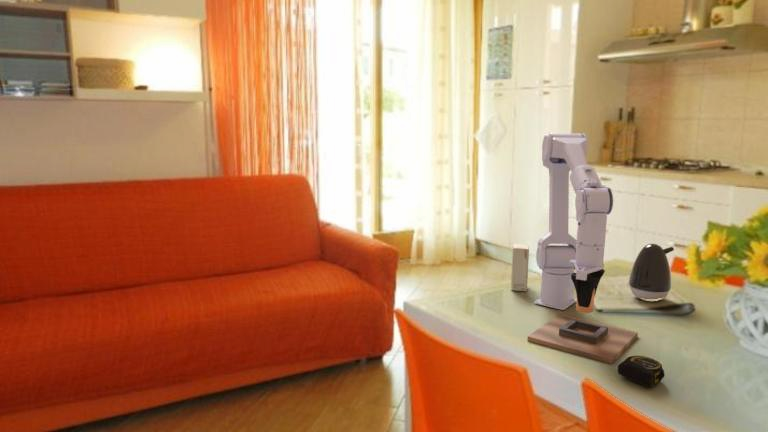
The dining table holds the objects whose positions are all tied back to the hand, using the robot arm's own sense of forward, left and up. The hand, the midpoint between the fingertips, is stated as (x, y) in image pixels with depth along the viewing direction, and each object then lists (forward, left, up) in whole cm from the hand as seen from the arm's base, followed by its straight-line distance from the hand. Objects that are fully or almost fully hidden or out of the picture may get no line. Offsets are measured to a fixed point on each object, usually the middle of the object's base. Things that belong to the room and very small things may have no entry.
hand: (585, 303), depth 124 cm
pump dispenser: (-38, +4, -8) cm, 39 cm away
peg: (0, 0, -2) cm, 2 cm away
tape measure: (+13, +16, -8) cm, 22 cm away
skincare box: (-24, -27, -8) cm, 37 cm away
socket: (0, 0, -8) cm, 8 cm away
